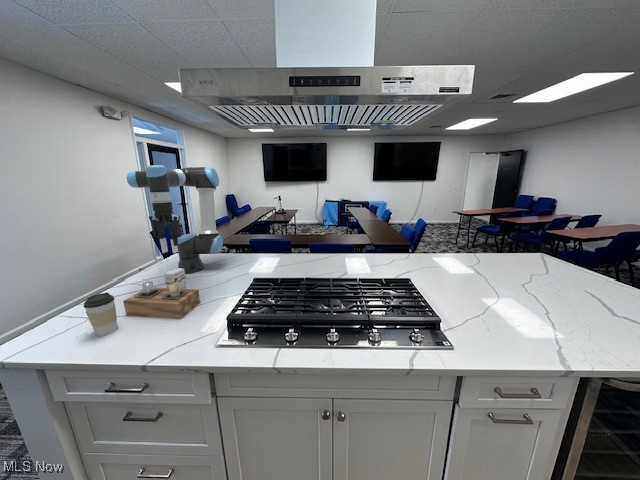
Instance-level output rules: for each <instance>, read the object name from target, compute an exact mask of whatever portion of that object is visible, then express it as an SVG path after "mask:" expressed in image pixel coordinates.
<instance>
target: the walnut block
mask: <svg viewBox="0 0 640 480" xmlns="http://www.w3.org/2000/svg"><path fill="white" fill-rule="evenodd" d="M153 287H154V292H155V293H154V294H153V295H151V296H144V292H143V289H142V290H140V291H138V292H137V293H135V294H133V295H131V296H129V297H128V298H125V299H124V300H122V301H123V305H124V307H123V308H124V311H125V315H126V316H130V317H133V316H134V317H146V318H147V317H149V318H166V319H183V318H184V317H185V316H187V314H189V313H190V312H191V311H192V310H193V309H195V308H196V307H197V306H198V305H199V304H200V303H201V298H200V297H201V296H200V290H199V288H187V289H184V288H180V293H181V295H180V296H178V297H171V296H170V291H169V288H167V287H159V286H156V287H155V286H153Z"/></svg>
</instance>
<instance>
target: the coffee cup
mask: <svg viewBox="0 0 640 480" xmlns="http://www.w3.org/2000/svg"><path fill="white" fill-rule="evenodd" d="M83 308H84V310H85V314H86V316H87V318H88V321H89V323H90V325H91V327H92V329H93V332H94V334H95V336H97V337H102V336H107V335H110V334H112V333H114V332H116V331H117V330H118V327H119V326H118V320H117V316H118V315H117V308H116V302H115V297H114V296H113V294H110V293H109V292H102V293H98V294H93V295H91V296H89V297H88V298H86V300H85V301H84V303H83Z"/></svg>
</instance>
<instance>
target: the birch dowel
mask: <svg viewBox="0 0 640 480" xmlns="http://www.w3.org/2000/svg"><path fill="white" fill-rule="evenodd" d="M169 291H170V296H171V297H178V296H180V295H181V293H180V287H179V283H178V282H175V283H171V284H169Z"/></svg>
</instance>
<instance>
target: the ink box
mask: <svg viewBox="0 0 640 480" xmlns="http://www.w3.org/2000/svg"><path fill="white" fill-rule="evenodd" d="M163 276H164V279H165V286H166V288H169V284H171V283H175V282H178V283H179V287H180V288H184V289H188V286H187V280H186V274H185V272H184V269H183V268H178V267H175V268H173V269H170V270H169V271H167V272H165V273H164V275H163Z"/></svg>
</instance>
